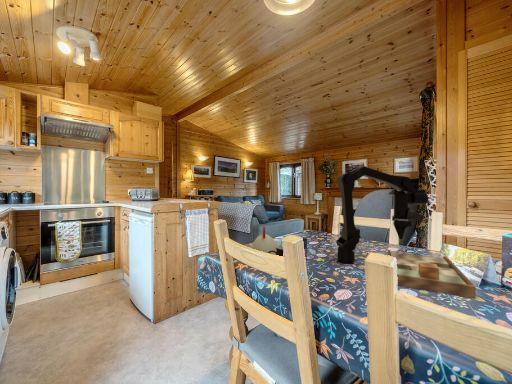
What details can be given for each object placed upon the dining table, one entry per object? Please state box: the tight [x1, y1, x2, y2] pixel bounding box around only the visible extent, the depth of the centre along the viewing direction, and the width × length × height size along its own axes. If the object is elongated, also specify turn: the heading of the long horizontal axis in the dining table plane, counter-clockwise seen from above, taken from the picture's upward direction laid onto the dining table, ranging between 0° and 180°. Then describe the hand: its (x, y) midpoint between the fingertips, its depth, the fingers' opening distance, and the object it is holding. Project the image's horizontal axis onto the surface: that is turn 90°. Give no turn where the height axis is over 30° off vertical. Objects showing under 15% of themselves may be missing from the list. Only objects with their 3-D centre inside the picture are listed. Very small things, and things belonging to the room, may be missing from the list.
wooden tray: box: [387, 249, 477, 299], centre depth 90 cm, size 22×35×4 cm, turn 152°
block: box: [419, 262, 439, 280], centre depth 80 cm, size 5×5×4 cm
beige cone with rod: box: [249, 226, 278, 255], centre depth 108 cm, size 14×14×15 cm
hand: (400, 239), depth 105 cm, fingers closed
